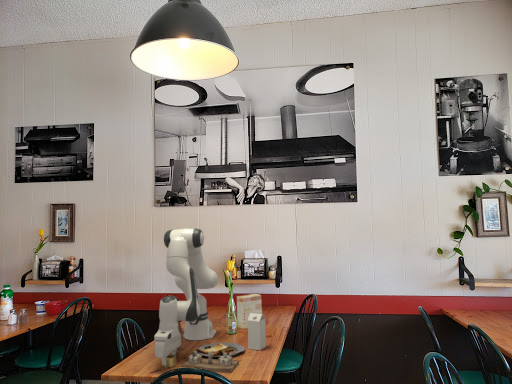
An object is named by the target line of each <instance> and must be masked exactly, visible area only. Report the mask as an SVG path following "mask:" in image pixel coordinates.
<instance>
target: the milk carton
mask: <svg viewBox="0 0 512 384" xmlns="http://www.w3.org/2000/svg"><path fill="white" fill-rule="evenodd" d="M266 323H267V322H266V317H265V315H264V314H263V311H262V312H256V311H250V315H249V318H248V328H247V343H248V344H247V346H248V350H255V351H261V350H264V349H265V348H267V335H266V334H267V333H266V332H267V329H266V328H267V327H266V326H267V325H266Z"/></svg>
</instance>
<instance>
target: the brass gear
mask: <svg viewBox="0 0 512 384" xmlns="http://www.w3.org/2000/svg"><path fill="white" fill-rule="evenodd" d="M166 360H168V362H167V364H166V365H163V361H162V360H161V367H162V368H164V369H165V368H166V369H167V368H173V367H176V366H177V356H176V355H173V354H171V353H170V354H168V355H167V357H166Z"/></svg>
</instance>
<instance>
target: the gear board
mask: <svg viewBox="0 0 512 384" xmlns="http://www.w3.org/2000/svg"><path fill="white" fill-rule="evenodd" d="M187 357H188V358H187V359H188V360H187V361H185V362H184V363H183V364H182V365H180V368H181V367H194V368H202V369H207V370H211V371H210V372H212V371H215V372H214V373H227V374H228V373H229V374H231V373H232V372H233V371H234V370H235V369H236V368H237V367H238V366H239V364H240V361H239V360H233V356H227V353H223V356H220V357H218V358H217V359H216V358H213V357H212V352H208V357H207V358H203V356H202V355H200V354H197V351H196V350H193V352H192V354H190V355H188V356H187Z"/></svg>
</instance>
